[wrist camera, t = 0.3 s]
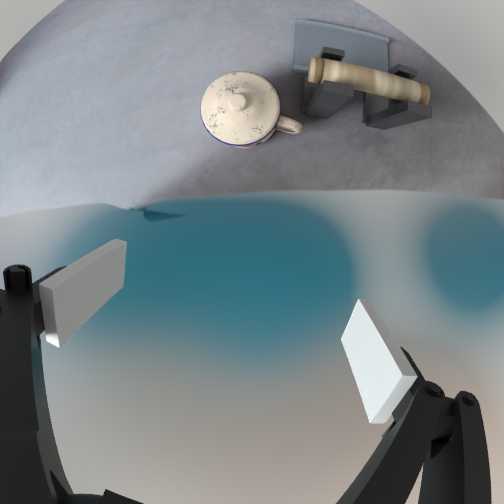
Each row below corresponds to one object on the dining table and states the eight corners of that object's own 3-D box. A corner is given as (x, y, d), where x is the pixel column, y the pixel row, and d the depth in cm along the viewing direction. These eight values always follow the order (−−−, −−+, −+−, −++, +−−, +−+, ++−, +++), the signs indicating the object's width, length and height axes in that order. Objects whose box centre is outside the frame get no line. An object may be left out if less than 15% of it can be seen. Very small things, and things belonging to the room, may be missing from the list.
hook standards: (304, 74, 35) (320, 34, 22) (388, 90, 35) (434, 65, 21) (301, 115, 37) (318, 90, 23) (387, 130, 36) (435, 118, 23)
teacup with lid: (206, 141, 39) (183, 132, 28) (224, 83, 36) (208, 55, 25) (287, 164, 39) (295, 162, 28) (306, 105, 36) (319, 83, 25)
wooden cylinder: (307, 84, 28) (311, 78, 25) (308, 60, 27) (312, 52, 24) (417, 109, 27) (430, 107, 24) (418, 86, 26) (430, 82, 23)
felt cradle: (295, 23, 32) (296, 18, 31) (385, 41, 32) (389, 38, 31) (292, 72, 35) (293, 68, 34) (386, 89, 35) (390, 87, 33)
